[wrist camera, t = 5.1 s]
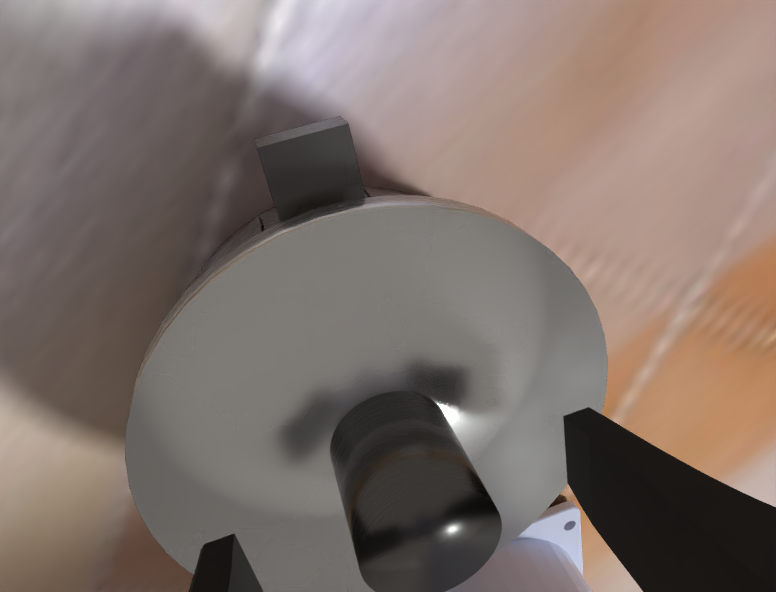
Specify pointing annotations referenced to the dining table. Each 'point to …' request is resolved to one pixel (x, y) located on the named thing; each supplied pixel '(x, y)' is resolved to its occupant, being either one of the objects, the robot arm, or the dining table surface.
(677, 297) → the dining table surface
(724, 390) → the dining table surface
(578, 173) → the dining table surface
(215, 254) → the pot
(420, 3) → the dining table surface
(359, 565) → the lid
